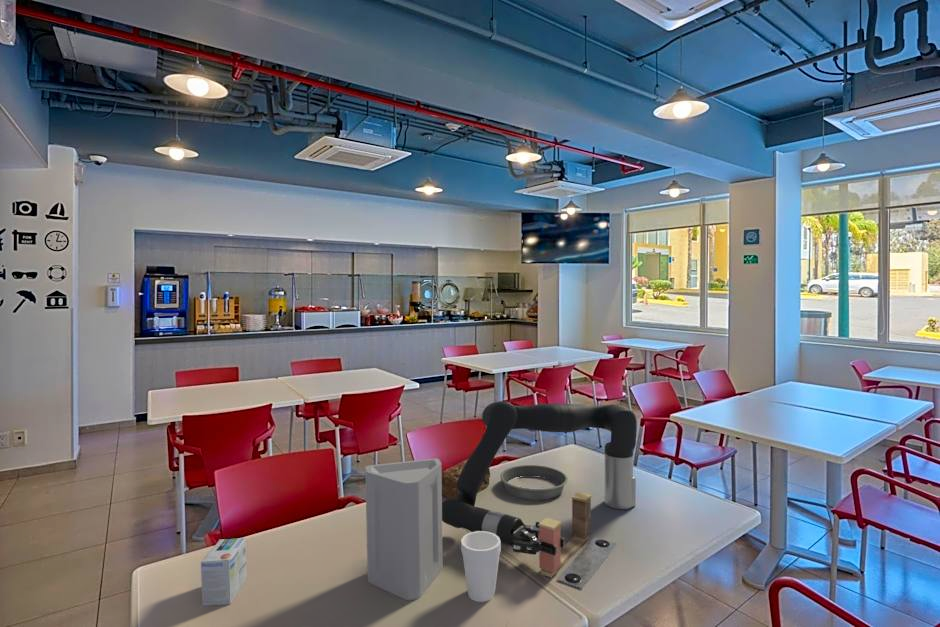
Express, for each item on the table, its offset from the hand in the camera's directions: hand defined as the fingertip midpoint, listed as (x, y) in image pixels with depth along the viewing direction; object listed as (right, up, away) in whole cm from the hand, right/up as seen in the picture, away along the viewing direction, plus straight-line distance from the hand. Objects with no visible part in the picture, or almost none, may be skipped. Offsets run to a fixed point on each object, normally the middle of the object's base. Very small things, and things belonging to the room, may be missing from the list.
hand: (559, 546), depth 124 cm
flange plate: (+9, -7, +7) cm, 13 cm away
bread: (-25, -6, +54) cm, 59 cm away
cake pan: (+1, -6, +57) cm, 57 cm away
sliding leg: (-2, -6, +2) cm, 7 cm away
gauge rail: (+4, -7, +10) cm, 13 cm away
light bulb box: (-82, -9, -5) cm, 83 cm away
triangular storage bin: (-38, -8, -2) cm, 39 cm away
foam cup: (-20, -8, -7) cm, 23 cm away
